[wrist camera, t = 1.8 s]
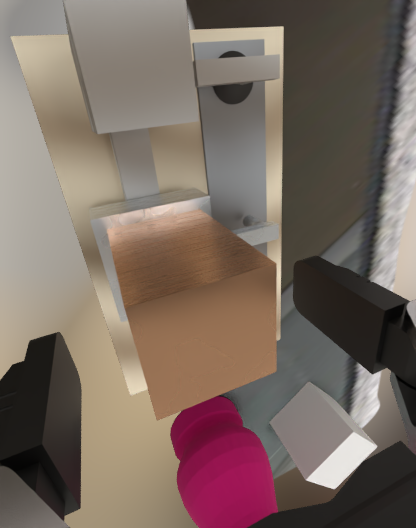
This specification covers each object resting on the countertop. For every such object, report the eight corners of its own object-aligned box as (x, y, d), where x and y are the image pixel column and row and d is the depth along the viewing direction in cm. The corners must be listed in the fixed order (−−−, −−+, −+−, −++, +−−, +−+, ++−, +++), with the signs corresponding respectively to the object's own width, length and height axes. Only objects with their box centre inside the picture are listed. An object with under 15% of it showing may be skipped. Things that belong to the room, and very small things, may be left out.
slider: (88, 206, 13) (95, 296, 6) (254, 174, 16) (394, 213, 9) (116, 298, 16) (143, 438, 9) (257, 258, 18) (369, 343, 11)
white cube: (268, 421, 31) (305, 480, 26) (308, 380, 30) (353, 431, 25) (297, 435, 34) (334, 489, 29) (333, 398, 33) (378, 446, 28)
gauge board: (17, 45, 12) (-52, -40, 6) (267, 34, 16) (393, -28, 9) (127, 379, 22) (146, 485, 15) (270, 328, 25) (334, 397, 18)
